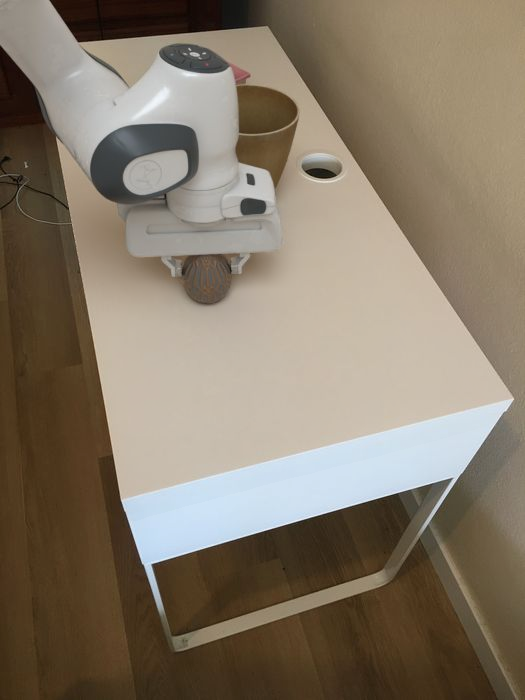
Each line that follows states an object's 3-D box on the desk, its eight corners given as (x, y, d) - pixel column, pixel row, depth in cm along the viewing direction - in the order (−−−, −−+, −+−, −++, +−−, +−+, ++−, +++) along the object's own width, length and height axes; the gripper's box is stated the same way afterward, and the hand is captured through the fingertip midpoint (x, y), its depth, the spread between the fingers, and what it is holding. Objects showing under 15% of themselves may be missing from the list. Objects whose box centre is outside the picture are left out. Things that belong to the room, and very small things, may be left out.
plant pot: (308, 208, 96) (319, 119, 84) (230, 236, 91) (229, 145, 78) (263, 162, 104) (267, 74, 91) (189, 185, 99) (182, 96, 86)
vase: (235, 307, 81) (235, 261, 75) (187, 313, 80) (182, 268, 74) (227, 274, 86) (226, 227, 79) (181, 279, 85) (176, 233, 78)
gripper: (112, 208, 66) (130, 292, 77) (288, 202, 68) (281, 285, 79) (116, 175, 70) (132, 260, 81) (281, 170, 72) (276, 253, 83)
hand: (207, 272), depth 80 cm, fingers closed on vase, 7 cm apart
